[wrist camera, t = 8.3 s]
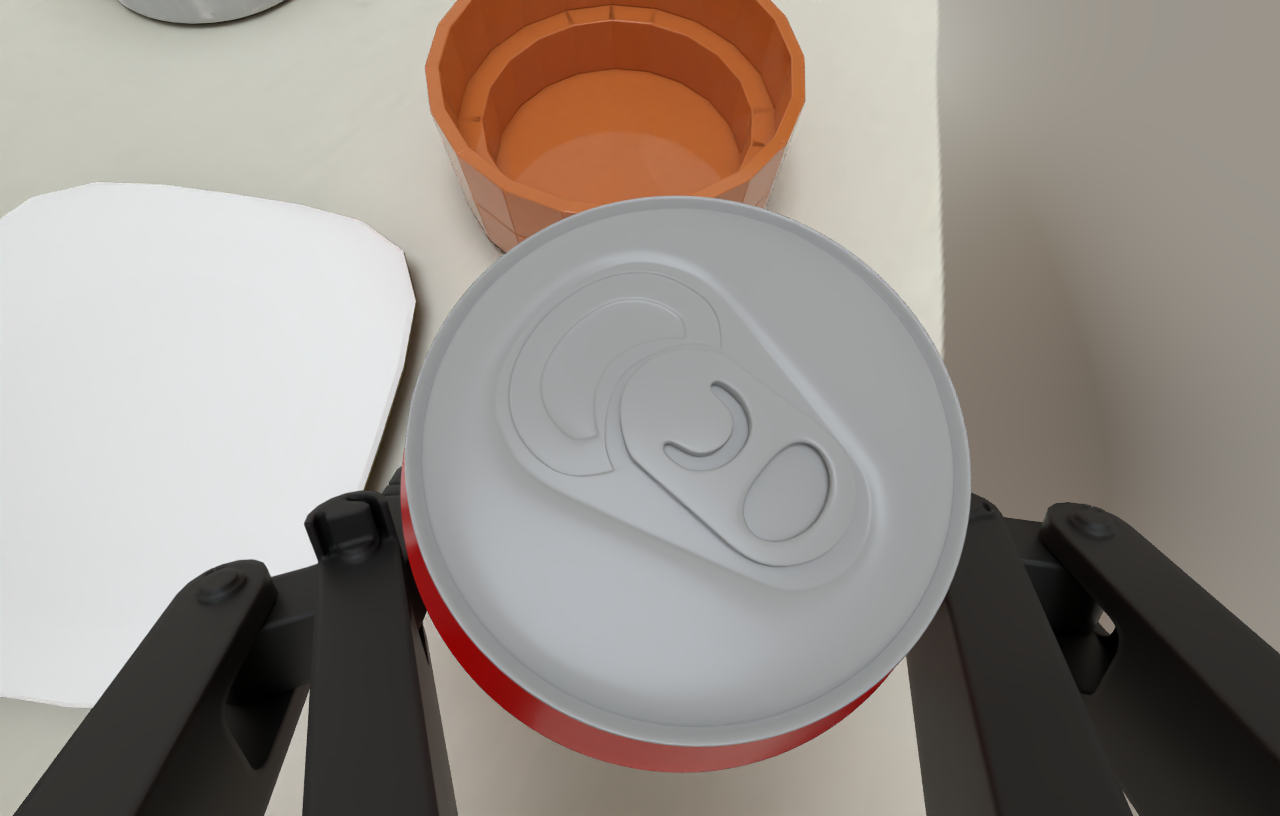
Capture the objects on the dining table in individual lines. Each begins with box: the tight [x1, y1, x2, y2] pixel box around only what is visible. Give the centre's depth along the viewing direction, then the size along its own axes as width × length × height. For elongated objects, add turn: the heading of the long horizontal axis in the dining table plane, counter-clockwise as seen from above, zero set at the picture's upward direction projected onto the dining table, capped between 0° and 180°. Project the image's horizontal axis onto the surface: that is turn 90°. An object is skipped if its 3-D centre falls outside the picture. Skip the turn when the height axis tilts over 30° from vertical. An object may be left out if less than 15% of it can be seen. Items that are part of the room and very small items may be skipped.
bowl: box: [425, 0, 805, 253], centre depth 25 cm, size 16×16×6 cm
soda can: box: [401, 196, 971, 773], centre depth 13 cm, size 8×8×15 cm
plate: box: [0, 182, 417, 708], centre depth 22 cm, size 22×22×2 cm
